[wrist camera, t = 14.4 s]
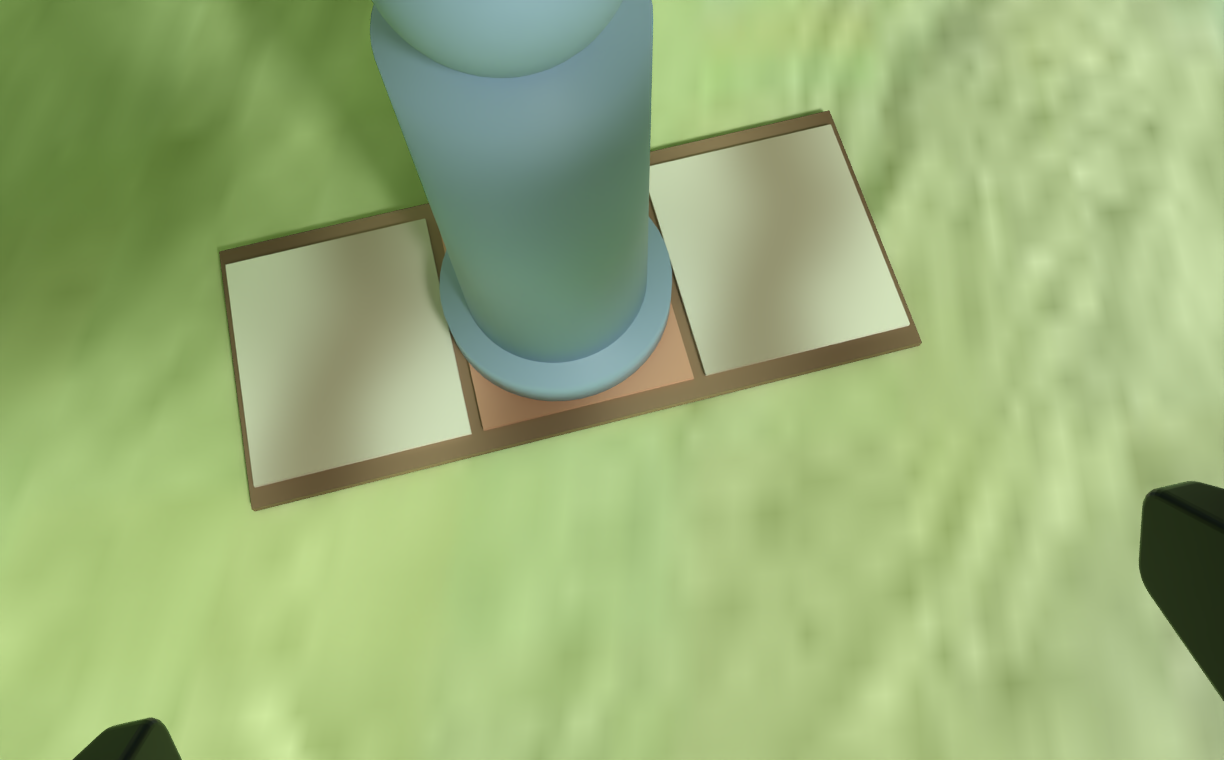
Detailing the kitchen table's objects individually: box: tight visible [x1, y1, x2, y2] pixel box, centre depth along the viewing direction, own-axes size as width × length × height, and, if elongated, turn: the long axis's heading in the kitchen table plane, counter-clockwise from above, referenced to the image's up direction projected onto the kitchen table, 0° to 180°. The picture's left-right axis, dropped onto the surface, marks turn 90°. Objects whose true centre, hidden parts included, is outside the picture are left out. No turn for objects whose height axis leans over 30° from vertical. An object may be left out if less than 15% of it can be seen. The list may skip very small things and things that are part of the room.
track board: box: [219, 111, 922, 511], centre depth 25 cm, size 16×7×1 cm, turn 104°
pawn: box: [370, 0, 672, 401], centre depth 18 cm, size 6×6×14 cm
